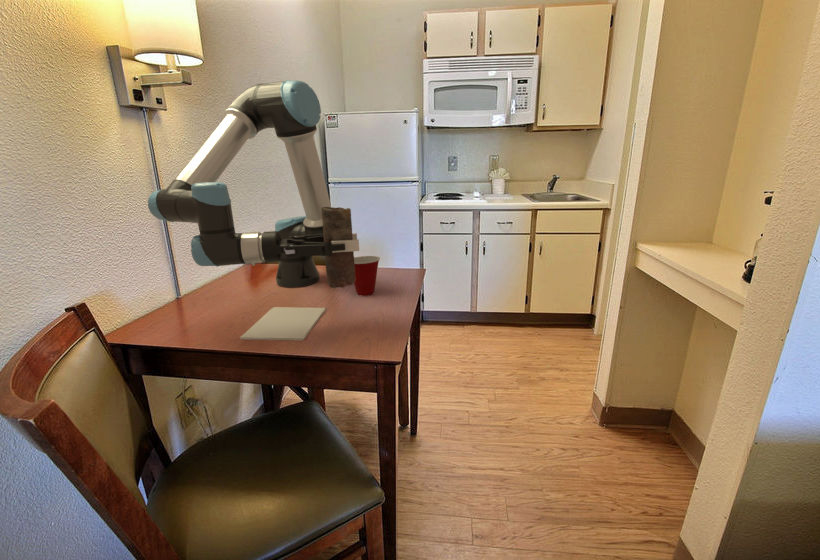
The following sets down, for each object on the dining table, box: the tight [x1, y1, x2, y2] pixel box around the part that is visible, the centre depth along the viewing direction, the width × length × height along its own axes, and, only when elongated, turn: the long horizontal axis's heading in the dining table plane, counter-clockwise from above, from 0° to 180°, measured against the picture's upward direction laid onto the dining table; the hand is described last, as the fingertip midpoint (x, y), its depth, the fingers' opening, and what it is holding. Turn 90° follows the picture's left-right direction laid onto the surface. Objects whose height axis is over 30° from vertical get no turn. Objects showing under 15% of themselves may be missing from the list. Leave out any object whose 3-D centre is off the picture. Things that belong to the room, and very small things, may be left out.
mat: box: [239, 306, 327, 342], centre depth 105 cm, size 20×16×1 cm
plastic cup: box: [353, 255, 381, 297], centre depth 126 cm, size 11×11×12 cm
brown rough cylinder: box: [321, 206, 355, 289], centre depth 97 cm, size 8×7×20 cm
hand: (357, 241), depth 98 cm, fingers closed on brown rough cylinder, 7 cm apart
